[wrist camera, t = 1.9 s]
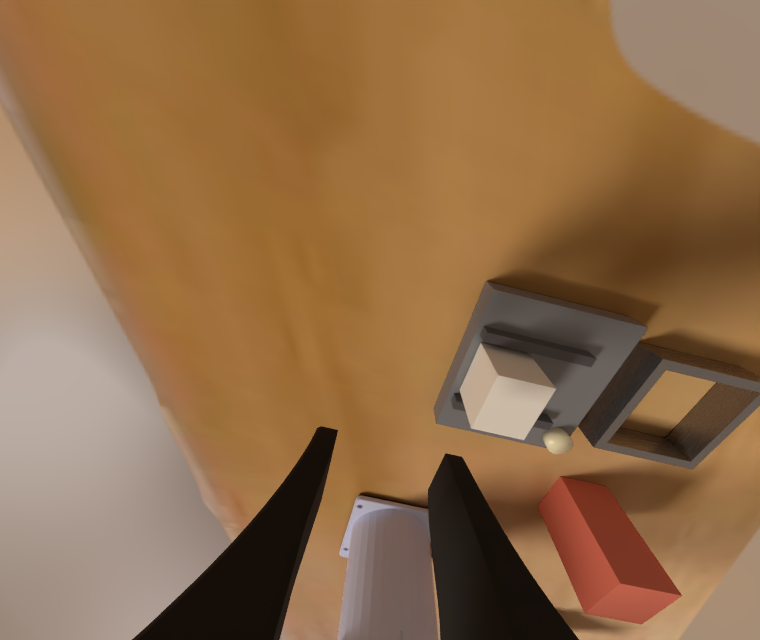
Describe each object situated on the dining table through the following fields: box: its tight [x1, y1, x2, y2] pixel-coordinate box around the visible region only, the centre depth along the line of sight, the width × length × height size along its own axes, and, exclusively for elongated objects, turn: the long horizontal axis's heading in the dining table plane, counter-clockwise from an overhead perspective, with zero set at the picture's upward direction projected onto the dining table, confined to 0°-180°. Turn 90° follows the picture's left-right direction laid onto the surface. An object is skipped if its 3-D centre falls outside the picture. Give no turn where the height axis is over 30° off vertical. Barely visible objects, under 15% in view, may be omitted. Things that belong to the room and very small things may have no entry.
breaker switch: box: [460, 343, 556, 440], centre depth 16 cm, size 4×3×3 cm
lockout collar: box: [578, 342, 760, 469], centre depth 19 cm, size 7×7×2 cm
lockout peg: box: [538, 476, 682, 624], centre depth 21 cm, size 4×4×7 cm
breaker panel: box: [434, 281, 648, 454], centre depth 18 cm, size 10×9×2 cm
